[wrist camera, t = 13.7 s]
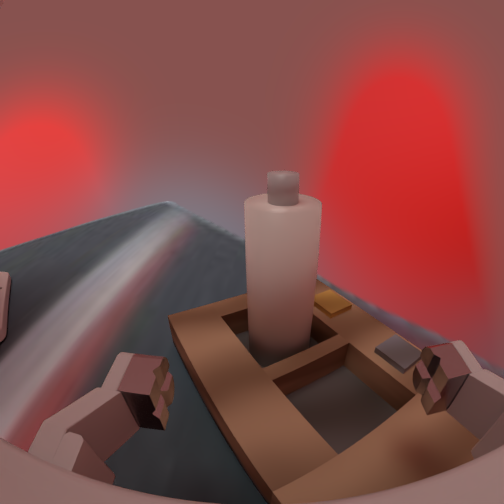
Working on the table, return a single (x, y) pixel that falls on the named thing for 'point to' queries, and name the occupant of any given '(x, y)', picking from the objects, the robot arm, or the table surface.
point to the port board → (319, 403)
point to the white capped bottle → (281, 267)
